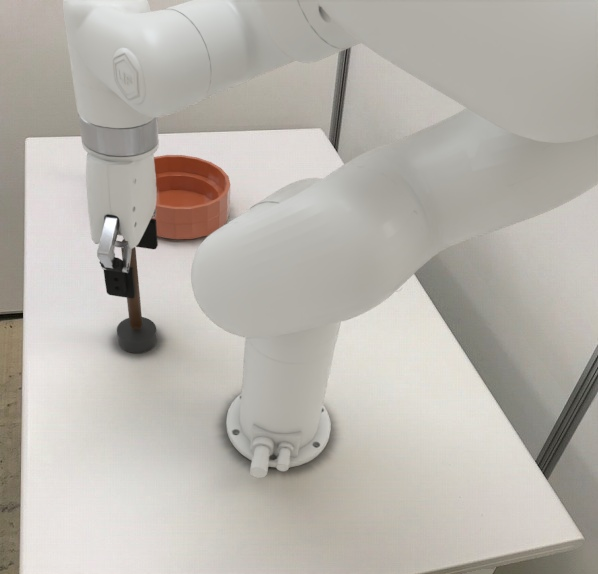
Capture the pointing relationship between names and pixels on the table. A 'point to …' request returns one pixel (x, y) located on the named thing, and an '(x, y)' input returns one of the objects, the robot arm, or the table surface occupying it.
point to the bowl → (190, 197)
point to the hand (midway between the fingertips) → (133, 269)
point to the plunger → (136, 321)
